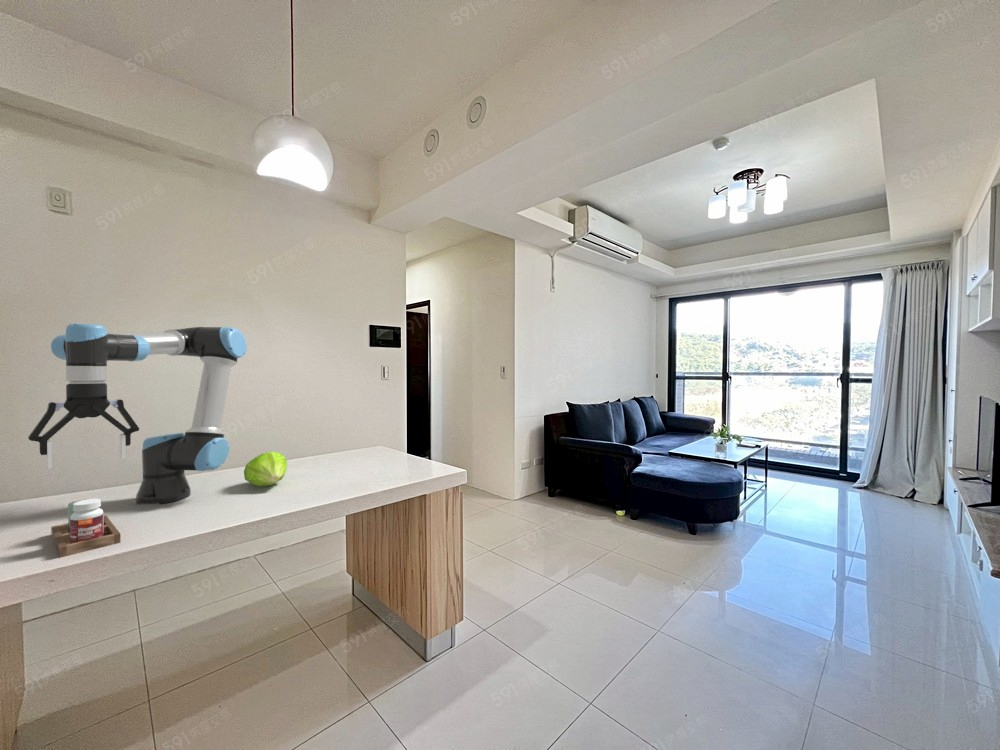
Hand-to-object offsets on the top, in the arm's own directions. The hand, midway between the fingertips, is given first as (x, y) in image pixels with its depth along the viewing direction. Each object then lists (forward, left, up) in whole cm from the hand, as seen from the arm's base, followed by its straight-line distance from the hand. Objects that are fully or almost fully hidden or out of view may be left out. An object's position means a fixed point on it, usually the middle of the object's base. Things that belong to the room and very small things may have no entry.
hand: (87, 462), depth 106 cm
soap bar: (0, -10, -22) cm, 24 cm away
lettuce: (-53, -21, -23) cm, 61 cm away
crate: (0, -5, -22) cm, 23 cm away
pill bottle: (0, 0, -22) cm, 22 cm away
